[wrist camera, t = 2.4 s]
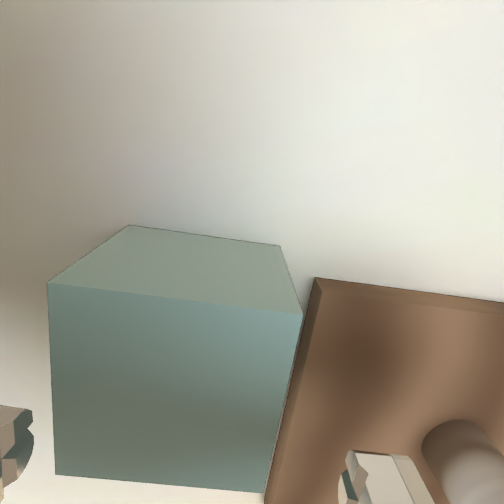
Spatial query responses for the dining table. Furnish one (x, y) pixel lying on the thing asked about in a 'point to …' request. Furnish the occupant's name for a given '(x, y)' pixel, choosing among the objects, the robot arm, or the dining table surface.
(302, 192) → the dining table surface
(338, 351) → the stub plate
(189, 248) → the sage green cube
